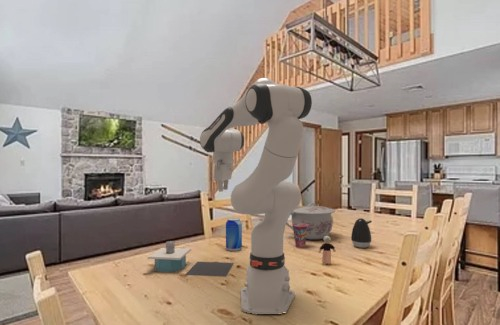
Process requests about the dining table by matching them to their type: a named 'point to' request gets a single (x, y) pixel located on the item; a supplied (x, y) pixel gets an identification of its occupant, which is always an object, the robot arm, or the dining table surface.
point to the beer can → (233, 234)
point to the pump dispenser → (361, 233)
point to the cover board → (169, 256)
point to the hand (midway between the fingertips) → (223, 190)
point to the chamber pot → (314, 220)
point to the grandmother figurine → (326, 251)
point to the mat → (210, 269)
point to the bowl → (170, 264)
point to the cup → (300, 234)
